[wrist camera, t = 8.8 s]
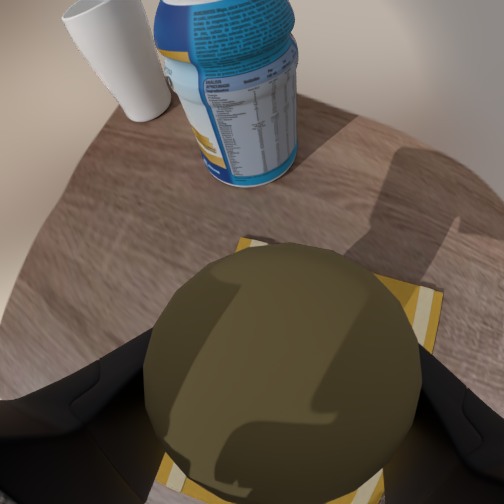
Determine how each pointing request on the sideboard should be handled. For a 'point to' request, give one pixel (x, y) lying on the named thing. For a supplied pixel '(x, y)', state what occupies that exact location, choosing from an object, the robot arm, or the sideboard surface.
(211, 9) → the blue plastic jar
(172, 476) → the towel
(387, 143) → the sideboard surface
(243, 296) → the cork
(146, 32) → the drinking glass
